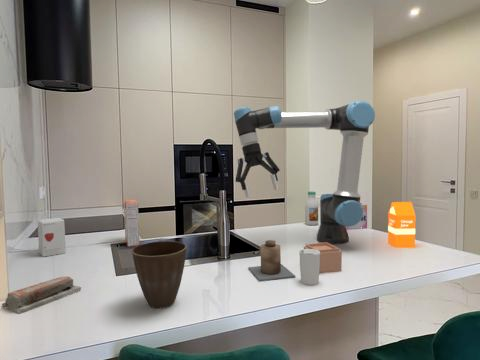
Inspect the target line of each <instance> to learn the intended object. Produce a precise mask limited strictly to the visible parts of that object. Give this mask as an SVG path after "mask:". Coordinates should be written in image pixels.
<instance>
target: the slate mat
mask: <svg viewBox="0 0 480 360" xmlns="http://www.w3.org/2000/svg"><path fill="white" fill-rule="evenodd" d="M247 268H248V270H249V271H250V273H251V274H252V275H253V276H254V278H255V279H256V280H257V281H258V282H268V281H277V280H286V279H294V278H296V275H295V274H294V273H293V272H292V271H291V270H289V269H288V268H287V267H285V266H284V264H282V263H281V272H280V273H278V274H264V273H262V272H261V265H256V266H248V267H247Z"/></svg>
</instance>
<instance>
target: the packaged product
mask: <svg viewBox="0 0 480 360" xmlns="http://www.w3.org/2000/svg"><path fill="white" fill-rule="evenodd" d="M80 290H81V291H82V287H81V286H79V285H74V279H73V278H71V276H67V275H66V276H60V277H56V278H52V279H50V280H46V281H42V282H39V283H37V284H33V285H30V286H26V287H23V288H20V289H17V290H13V291H11V292H8V293H7V297H6V299H5V300H4V301H5V302H3V303H2V304H1V306H2V307H4V308H6V309H8V310H9V311H13V312H14V313H17V314H20V315H21V314H24V313H27V312H29V311H31V310H34V309H37V308H40V307H43V306H45V305H48V304H50V303H53V302H55V301H58V300H61V299H63V298H66V297H69V296H70V295H74V294H76V293H79V292H81V291H80ZM78 291H79V292H78ZM75 292H76V293H75ZM73 293H74V294H73ZM68 295H69V296H68Z"/></svg>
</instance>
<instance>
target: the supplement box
mask: <svg viewBox="0 0 480 360" xmlns="http://www.w3.org/2000/svg"><path fill="white" fill-rule="evenodd" d="M37 231H38V232H37V233H38V235H37V236H38V239H37V240H38V253H39V255H40V256H41V257H43V256H47V257H51V256H50V255H52V256H57V255H56V254H58V255H63V253H64V254H66V252H67V251H66V250H67V248H66V227H65V220H64V218H61V217H55V218H43V219H37Z"/></svg>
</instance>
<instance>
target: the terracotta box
mask: <svg viewBox="0 0 480 360" xmlns="http://www.w3.org/2000/svg"><path fill="white" fill-rule="evenodd" d="M303 249H314V250H318V251H320V266H319V274H324V273H334V272H342V267H343V266H342V265H343V264H342V262H343V261H342V255H343V253H342V250H340V249H341V248H340V247H337V246H336V245H334V244H329V243H327V242H325V243H322V242H315V243H313V242H312V243H305V246H303Z"/></svg>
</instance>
